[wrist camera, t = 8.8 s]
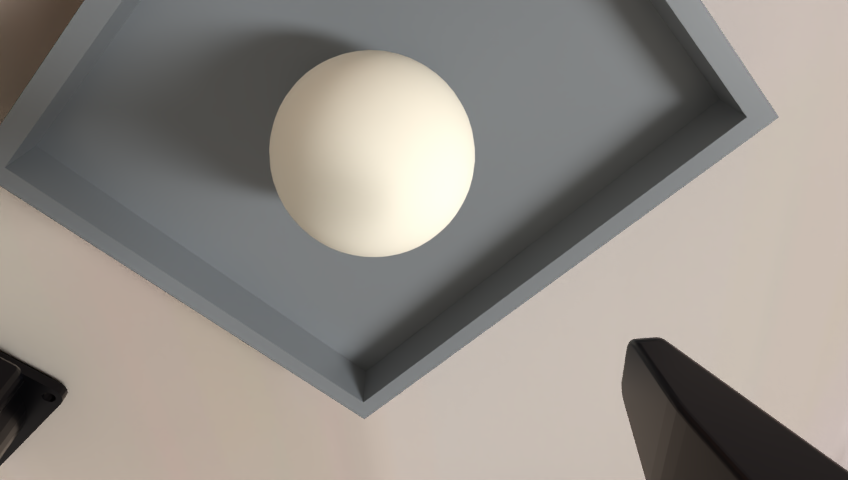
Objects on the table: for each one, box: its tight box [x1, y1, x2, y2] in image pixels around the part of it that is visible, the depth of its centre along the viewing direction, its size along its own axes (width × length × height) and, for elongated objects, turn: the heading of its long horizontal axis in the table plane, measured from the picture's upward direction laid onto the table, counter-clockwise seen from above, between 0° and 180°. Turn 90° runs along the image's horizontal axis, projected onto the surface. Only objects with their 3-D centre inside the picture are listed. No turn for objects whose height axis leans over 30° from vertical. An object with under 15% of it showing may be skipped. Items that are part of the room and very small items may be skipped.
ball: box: [269, 50, 475, 257], centre depth 14 cm, size 5×5×5 cm
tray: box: [0, 0, 779, 419], centre depth 16 cm, size 16×14×2 cm
